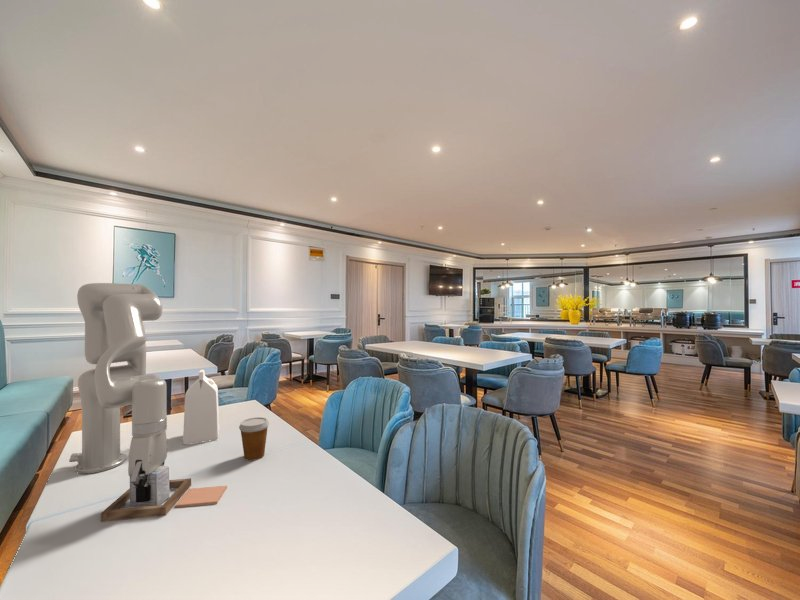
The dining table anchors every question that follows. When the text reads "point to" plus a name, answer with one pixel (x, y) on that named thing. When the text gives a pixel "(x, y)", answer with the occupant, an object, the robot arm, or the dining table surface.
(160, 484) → the medicine box
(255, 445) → the disposable coffee cup
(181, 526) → the dining table surface
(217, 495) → the terracotta tile
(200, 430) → the milk
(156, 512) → the board
